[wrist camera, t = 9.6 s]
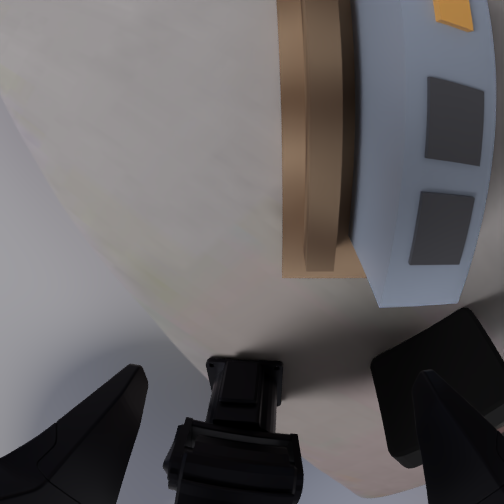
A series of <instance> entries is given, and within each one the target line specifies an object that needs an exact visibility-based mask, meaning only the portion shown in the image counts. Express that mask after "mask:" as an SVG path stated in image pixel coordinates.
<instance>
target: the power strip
mask: <svg viewBox="0 0 504 504" xmlns="http://www.w3.org/2000/svg"><path fill="white" fill-rule="evenodd" d="M350 4H351V15H352V28H353V44H354V66H355V143H354V167H353V184H352V199H351V211H350V222H349V233H348V236H349V238H350V240H351V243H352V245H353V247H354V249H355V251H356V254H357V256H358V258H359V260H360V263H361V265H362V267H363V269H364V272H365V274H366V276H367V279H368V281H369V284H370V286H371V288H372V291H373V293H374V296H375V298H376V301H377V303H378V306H379V308H387V307H409V306H426V305H442V304H455V303H458V301H459V298H460V295H461V292H462V290H463V287H464V284H465V281H466V278H467V275H468V271H469V268H470V265H471V261H472V258H473V255H474V251H475V247H476V244H477V240H478V236H479V232H480V228H481V223H482V219H483V214H484V209H485V204H486V199H487V194H488V188H489V181H490V175H491V167H492V159H493V150H494V139H495V124H496V68H495V53H494V43H493V34H492V26H491V20H490V14H489V8H488V3H487V0H350Z"/></svg>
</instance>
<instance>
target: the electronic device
mask: <svg viewBox="0 0 504 504" xmlns="http://www.w3.org/2000/svg"><path fill="white" fill-rule="evenodd" d="M370 368H371V372H372V377H373V381H374V385H375V389H376V393H377V398H378V402H379V407H380V411H381V416H382V421H383V426H384V431H385V436H386V441H387V446H388V451H389V453H390V454H391V456H392V457H394V458H395V459H396V460H397V461H398V462H399V463H400V464H401V465H403V466H404V467H406V468H408V469H409V468H415V467H417V466H420V465H422V464H423V463H422V458H421V452H420V447H419V442H418V437H417V431H416V424H415V414H414V405H413V397H412V387H413V385H414V383H415V381H416V379H417V377H418V375H419V373H420V372H421V371H422V370H429V369H431V370H433V371H435V372H436V373H437V374H438V375H439V376H440V377H441V378H442V379H443V380H445V381H446V382H447V383H448V384H449V385H450V386H451V387H452V388H453V389H454V390H456V391H457V392H458V393H459V394H460V395H461V396H462V397H463V398H464V399H465V400H466V401H467V402H469V403H470V404H471V405H472V406H473V407H474V408H475V409H476V410H477V411H478V412H479V413H480V414H481V415H482V416H483V417H485V418H486V419H487V420H488V421H489V422H490V423H491V424H492V425H493V426H494V427H496V426H498V425H499V424H501V423H502V422H504V361H503V359H502V358H501V356H500V354H499V352H498V351H497V349H496V347H495V346H494V344H493V343H492V341H491V339H490V338H489V336H488V335H487V333H486V331H485V330H484V328H483V327H482V325H481V324H480V322H479V321H478V319H477V318H476V316H475V315H474V313H473V312H472V310H470V309H469V308H461V309H459V310H457V311H456V312H454V313H452V314H451V315H449V316H448V317H446V318H444V319H443V320H441V321H440V322H438V323H436V324H435V325H433V326H431V327H430V328H428V329H426V330H425V331H423V332H421V333H419V334H418V335H416V336H414V337H412V338H410V339H409V340H407V341H405V342H403V343H401V344H399V345H398V346H396V347H394V348H392V349H390V350H388V351H386V352H384V353H382V354H380V355H378V356H377V357H376V358H374V359H373V361H372V362H371V367H370Z"/></svg>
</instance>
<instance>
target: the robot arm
mask: <svg viewBox="0 0 504 504" xmlns="http://www.w3.org/2000/svg"><path fill="white" fill-rule="evenodd" d="M276 366H277V367H276ZM206 368H207V372H208V377H209V381H210V386H211V390H212V394H211V398H210V403H209V408H208V412H207V416H206V421H205V422H202V421H198V420H193V418H189V417H186V420H185V423H184V425H179V426H178V428H177V432H176V435H175V439H174V442H173V444H172V447H171V449H170V450H169V452H168V454H167V456H166V458H165V460H164V463H163V469H164V470H165V471H166V473H167V475H168V477H167V478H168V480H169V482H168V487H169V489H171V490H175V491H177V493H176V498H175V504H297V503H298V501H299V499H300V497H301V493H302V488H303V476H304V474H303V466H302V460H301V453H300V446H299V440H298V434H280V433H275V430H276V408H277V406H280V405H281V393H282V374H283V364H282V363H281V362H279V361H254V360H231V359H215V358H209V359H208V360H207V362H206ZM147 390H148V380H147V378H146V375H145V372H144V370H143V368H142V366H140V365H135V364H129V365H127V366H126V367H125V368H123V369H122V370H121V371H120V372H118V373H117V374H116V375H115V376H113V377H112V378H111V379H110V380H109V381H108V382H106V383H105V384H103V385H102V386H101V387H100V388H98V389H97V390H96V391H95V392H93V393H92V394H91V395H90V396H88V397H87V398H86V399H85V400H83V401H82V402H81V403H80V404H78V405H77V406H76V407H74V408H73V409H72V410H71V411H69V412H68V413H67V414H66V415H64V416H63V417H62V418H60V419H59V420H58V421H57V423H54V424H53V425H51V426H50V427H49V428H48V429H46V430H45V431H43V432H42V433H41V434H40V435H38V436H36V437H35V438H33V439H32V440H30V441H29V442H27V443H26V444H24V445H22V446H21V447H19V448H17V449H16V450H14V451H12V452H11V453H9V454H7V455H5V456H3V457H1V458H0V504H116V502H117V499H118V495H119V492H120V488H121V484H122V481H123V478H124V475H125V472H126V468H127V465H128V462H129V458H130V455H131V452H132V449H133V446H134V443H135V440H136V437H137V433H138V430H139V427H140V423H141V419H142V414H143V409H144V404H145V398H146V394H147ZM412 397H413V405H414V414H415V424H416V431H417V437H418V442H419V447H420V452H421V458H422V463H423V469H424V475H425V482H426V489H427V496H428V504H504V436H503V435H502V434H501V433H500V432H499V431H497V429H496V428H495V427H494V426H493V425H492V424H491V423H490V422H489V421H488V420H487V419H486V418H485V417H483V416H482V415H481V414H480V413H479V412H478V411H477V410H476V409H475V408H474V407H473V406H472V405H471V404H470V403H469V402H467V401H466V400H465V399H464V398H463V397H462V396H461V395H460V394H459V393H458V392H457V391H456V390H454V389H453V388H452V387H451V386H450V385H449V384H448V383H447V382H446V381H445V380H443V379H442V378H441V377H440V376H439V375H438V374H437V373H436V372H435V371H433V370H431V369H429V370H422V371H421V372H420V373H419V375H418V377H417V379H416V381H415V383H414V385H413V387H412Z"/></svg>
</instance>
